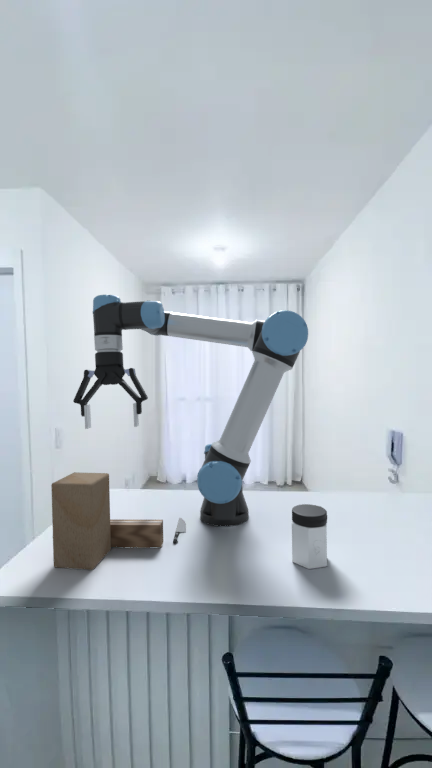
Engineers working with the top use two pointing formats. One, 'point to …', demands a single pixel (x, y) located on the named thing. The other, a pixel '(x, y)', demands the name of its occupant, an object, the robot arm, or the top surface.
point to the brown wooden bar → (136, 533)
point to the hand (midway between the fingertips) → (112, 427)
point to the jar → (309, 536)
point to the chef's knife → (179, 529)
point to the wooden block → (81, 520)
